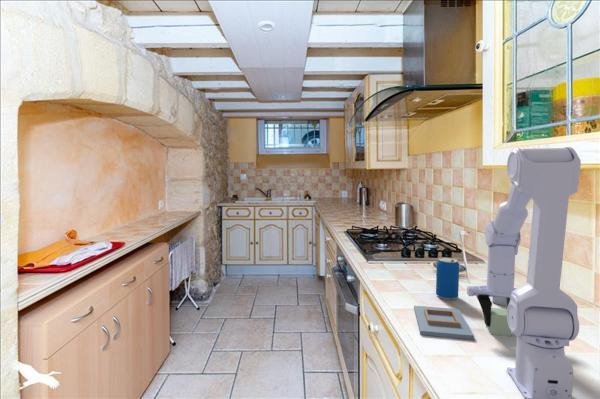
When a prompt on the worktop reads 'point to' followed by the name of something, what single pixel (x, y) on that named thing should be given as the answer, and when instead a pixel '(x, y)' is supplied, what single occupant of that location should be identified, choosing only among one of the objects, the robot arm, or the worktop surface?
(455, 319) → the board
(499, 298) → the medicine box
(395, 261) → the worktop surface
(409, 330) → the worktop surface
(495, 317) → the sage block
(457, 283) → the beverage can
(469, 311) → the worktop surface
